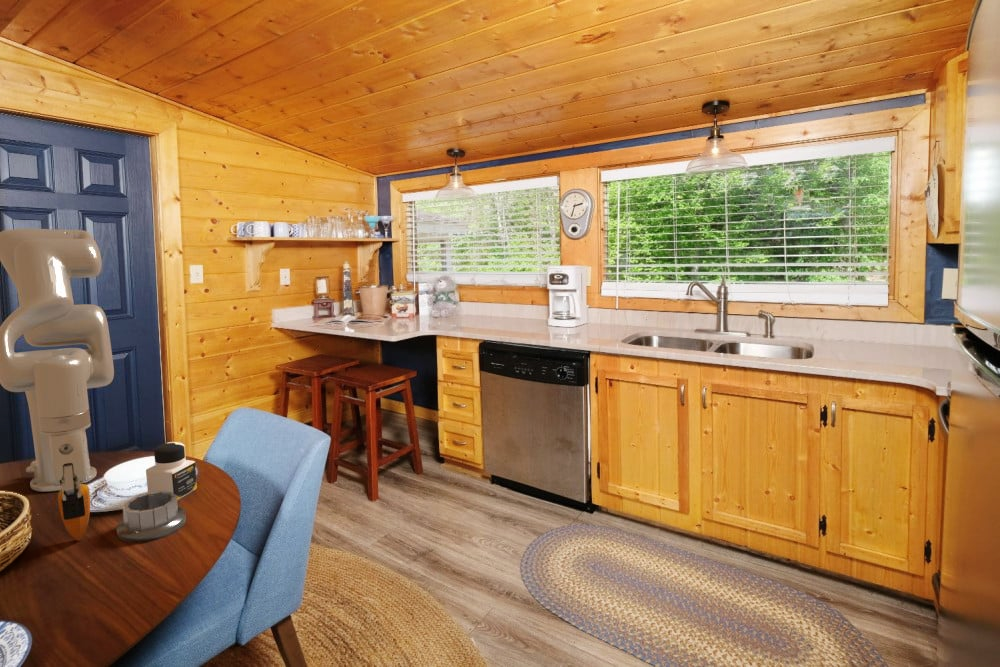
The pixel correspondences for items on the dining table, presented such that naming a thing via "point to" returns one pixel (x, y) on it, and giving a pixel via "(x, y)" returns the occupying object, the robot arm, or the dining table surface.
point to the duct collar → (150, 517)
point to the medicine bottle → (171, 471)
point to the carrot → (79, 524)
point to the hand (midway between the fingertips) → (75, 509)
